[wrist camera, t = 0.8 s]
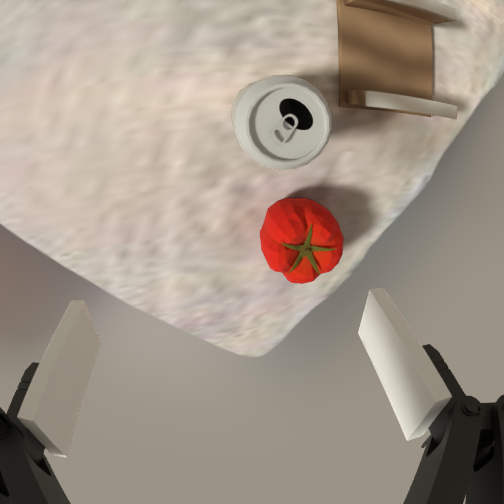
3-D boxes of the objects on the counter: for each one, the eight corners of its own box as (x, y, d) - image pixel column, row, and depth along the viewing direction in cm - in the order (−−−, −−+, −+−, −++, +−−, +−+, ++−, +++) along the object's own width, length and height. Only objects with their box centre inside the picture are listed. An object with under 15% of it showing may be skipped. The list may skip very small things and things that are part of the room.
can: (315, 111, 32) (359, 124, 21) (269, 161, 34) (291, 195, 23) (263, 66, 29) (284, 52, 18) (216, 118, 31) (212, 131, 21)
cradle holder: (335, -9, 25) (358, -25, 19) (425, 13, 25) (458, 6, 20) (338, 106, 31) (363, 110, 26) (426, 116, 32) (459, 124, 26)
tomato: (340, 235, 39) (362, 265, 33) (279, 270, 41) (290, 306, 34) (307, 172, 35) (327, 193, 28) (240, 212, 37) (244, 241, 30)
